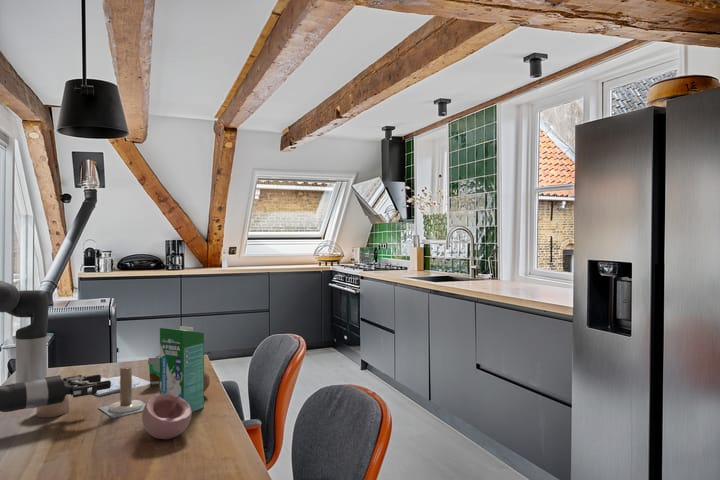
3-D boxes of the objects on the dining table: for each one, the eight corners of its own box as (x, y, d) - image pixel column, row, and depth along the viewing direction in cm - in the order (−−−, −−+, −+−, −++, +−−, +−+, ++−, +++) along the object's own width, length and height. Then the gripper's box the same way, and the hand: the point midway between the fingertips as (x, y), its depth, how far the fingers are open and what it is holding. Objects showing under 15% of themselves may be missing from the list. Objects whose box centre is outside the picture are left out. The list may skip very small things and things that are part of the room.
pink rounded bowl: (162, 450, 131) (162, 403, 131) (132, 440, 138) (132, 395, 138) (201, 435, 142) (201, 391, 142) (170, 426, 148) (170, 384, 148)
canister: (33, 412, 159) (33, 388, 159) (64, 406, 165) (64, 383, 165) (40, 419, 153) (40, 394, 153) (72, 412, 159) (72, 389, 159)
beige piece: (104, 407, 163) (104, 367, 163) (135, 401, 169) (135, 363, 169) (115, 415, 156) (115, 373, 156) (147, 408, 163) (147, 368, 163)
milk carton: (204, 407, 165) (204, 325, 164) (182, 416, 156) (182, 329, 156) (181, 403, 168) (181, 323, 168) (159, 411, 160) (159, 327, 160)
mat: (98, 408, 163) (98, 407, 163) (138, 400, 171) (138, 399, 171) (112, 418, 154) (112, 417, 154) (154, 409, 163) (154, 408, 163)
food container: (163, 388, 185) (164, 359, 185) (147, 387, 186) (147, 358, 186) (182, 379, 197) (182, 351, 197) (167, 378, 199) (167, 350, 198)
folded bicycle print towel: (73, 388, 187) (73, 381, 187) (130, 376, 203) (130, 370, 203) (98, 399, 175) (98, 392, 175) (156, 385, 190) (156, 379, 190)
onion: (173, 398, 173) (173, 367, 173) (191, 391, 182) (191, 361, 182) (197, 402, 170) (197, 370, 170) (215, 394, 179) (215, 363, 179)
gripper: (50, 383, 143) (114, 372, 154) (36, 373, 153) (97, 363, 164) (50, 412, 143) (114, 399, 154) (36, 399, 153) (97, 388, 164)
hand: (105, 380), depth 159 cm, fingers open, 8 cm apart
